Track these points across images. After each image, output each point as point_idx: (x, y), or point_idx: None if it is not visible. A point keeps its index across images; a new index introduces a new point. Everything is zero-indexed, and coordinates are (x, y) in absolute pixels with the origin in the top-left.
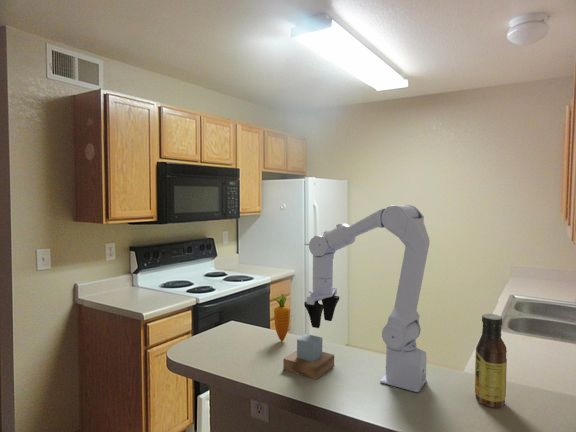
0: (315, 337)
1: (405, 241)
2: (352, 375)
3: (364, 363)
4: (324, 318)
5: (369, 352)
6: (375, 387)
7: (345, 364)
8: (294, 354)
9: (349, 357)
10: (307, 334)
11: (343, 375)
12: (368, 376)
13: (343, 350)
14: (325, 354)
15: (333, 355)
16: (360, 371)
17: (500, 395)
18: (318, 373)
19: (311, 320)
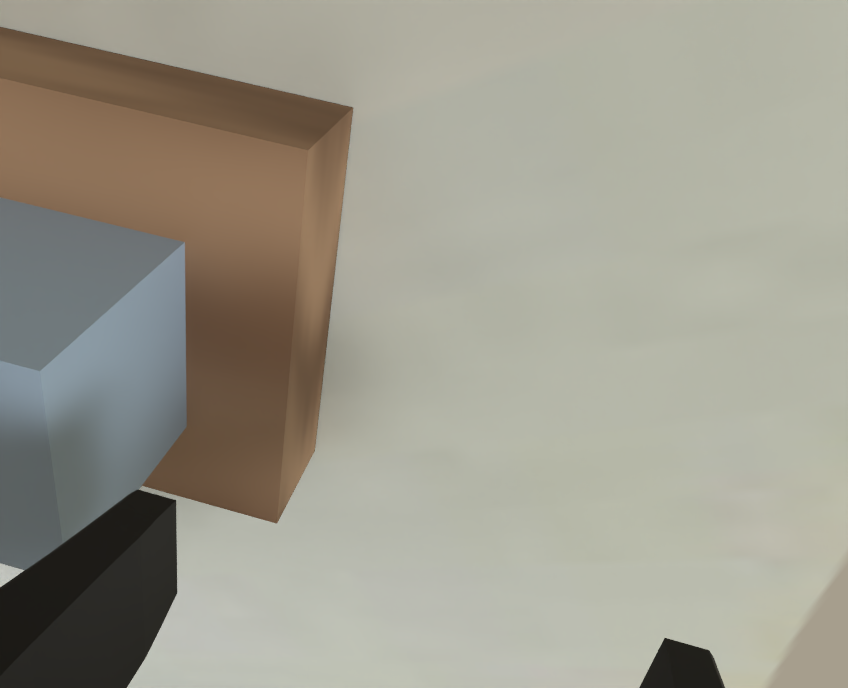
0: (11, 508)
1: None
2: (219, 577)
3: (475, 645)
4: (666, 661)
5: (752, 684)
6: (145, 683)
7: (386, 526)
8: (22, 127)
9: (560, 546)
10: (34, 389)
11: (182, 527)
12: (264, 659)
13: (741, 487)
14: (233, 450)
15: (258, 516)
16: (313, 620)
17: None
18: None
19: (34, 583)
